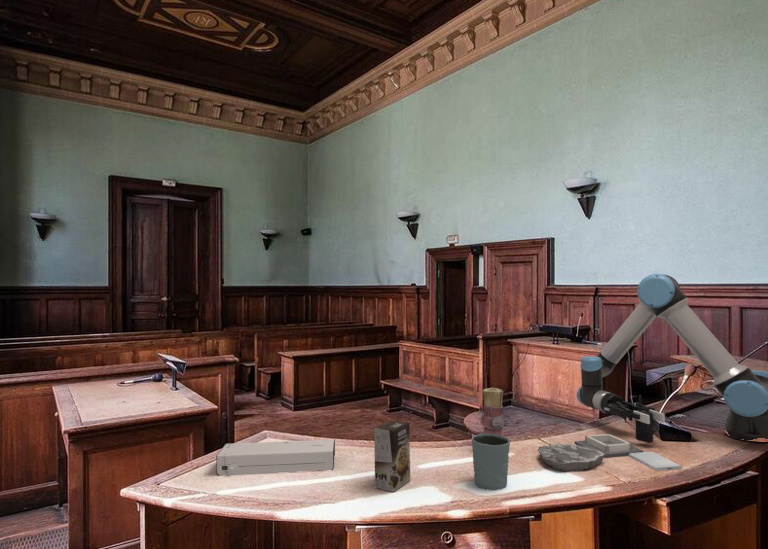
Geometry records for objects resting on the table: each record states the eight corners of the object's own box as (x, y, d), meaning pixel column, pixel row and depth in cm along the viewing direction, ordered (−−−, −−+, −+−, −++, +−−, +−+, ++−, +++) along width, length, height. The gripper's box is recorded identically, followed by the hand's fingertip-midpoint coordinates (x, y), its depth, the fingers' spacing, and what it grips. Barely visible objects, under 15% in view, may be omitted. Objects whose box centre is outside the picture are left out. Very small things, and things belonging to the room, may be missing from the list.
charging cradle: (614, 440, 166) (613, 431, 166) (643, 454, 153) (643, 444, 153) (574, 444, 163) (574, 435, 163) (601, 458, 150) (600, 448, 150)
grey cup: (470, 476, 137) (469, 433, 137) (506, 476, 137) (505, 433, 137) (475, 491, 127) (474, 445, 127) (514, 491, 126) (513, 444, 127)
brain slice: (568, 449, 159) (568, 440, 159) (614, 465, 144) (613, 455, 144) (522, 459, 150) (522, 450, 151) (565, 478, 135) (565, 467, 135)
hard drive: (628, 453, 151) (656, 467, 139) (652, 451, 152) (682, 465, 140) (628, 458, 151) (656, 473, 138) (652, 456, 152) (682, 471, 140)
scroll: (480, 455, 154) (479, 391, 155) (480, 447, 162) (478, 387, 162) (505, 456, 153) (504, 392, 154) (503, 448, 160) (502, 387, 161)
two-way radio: (633, 440, 161) (633, 394, 162) (639, 437, 164) (638, 393, 165) (651, 444, 157) (650, 397, 158) (657, 441, 160) (656, 395, 161)
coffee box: (394, 493, 127) (393, 430, 127) (374, 488, 130) (373, 427, 131) (411, 481, 134) (410, 422, 135) (391, 476, 138) (390, 419, 138)
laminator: (335, 458, 155) (334, 439, 155) (333, 473, 142) (333, 451, 143) (225, 463, 152) (225, 443, 152) (215, 478, 140) (215, 456, 140)
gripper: (630, 411, 180) (680, 428, 158) (587, 415, 177) (632, 433, 154) (629, 391, 181) (679, 405, 158) (586, 394, 177) (631, 409, 154)
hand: (656, 418), depth 156 cm, fingers closed on two-way radio, 5 cm apart
